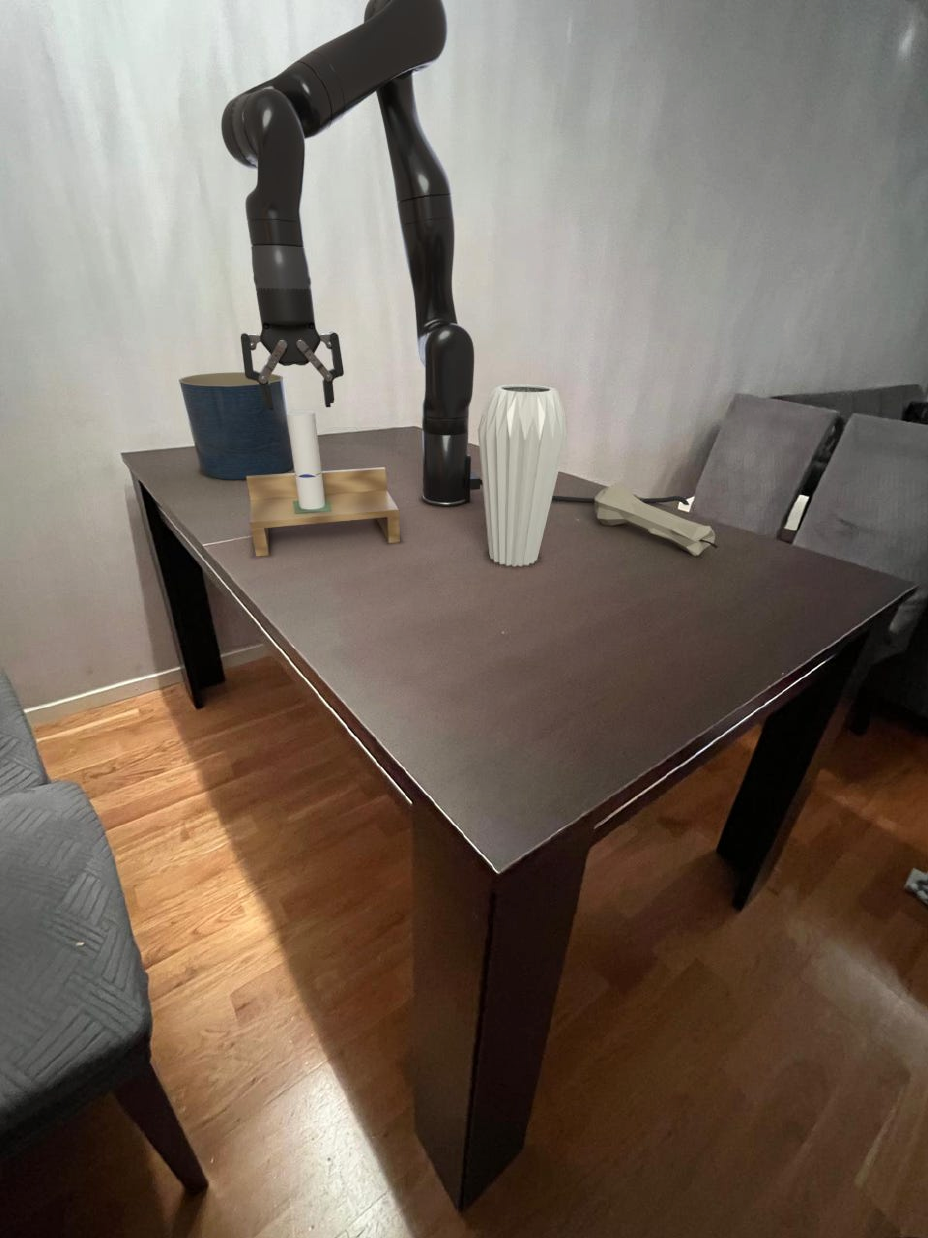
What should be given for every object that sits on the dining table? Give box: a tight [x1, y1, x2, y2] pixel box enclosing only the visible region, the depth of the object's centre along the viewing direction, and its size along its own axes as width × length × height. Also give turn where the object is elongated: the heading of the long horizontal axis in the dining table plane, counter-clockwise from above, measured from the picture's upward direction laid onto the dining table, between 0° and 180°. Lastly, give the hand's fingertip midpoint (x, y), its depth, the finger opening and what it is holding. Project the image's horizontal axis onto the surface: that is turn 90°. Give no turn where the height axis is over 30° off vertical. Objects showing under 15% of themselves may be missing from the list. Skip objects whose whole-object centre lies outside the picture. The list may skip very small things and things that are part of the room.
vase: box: [477, 383, 568, 568], centre depth 85 cm, size 13×13×26 cm
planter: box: [178, 371, 294, 481], centre depth 129 cm, size 22×22×20 cm
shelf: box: [246, 466, 401, 558], centre depth 95 cm, size 24×12×10 cm, turn 108°
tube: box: [286, 409, 325, 509], centre depth 89 cm, size 4×4×15 cm
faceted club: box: [594, 480, 719, 557], centre depth 98 cm, size 9×8×25 cm
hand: (299, 407), depth 85 cm, fingers open, 8 cm apart
